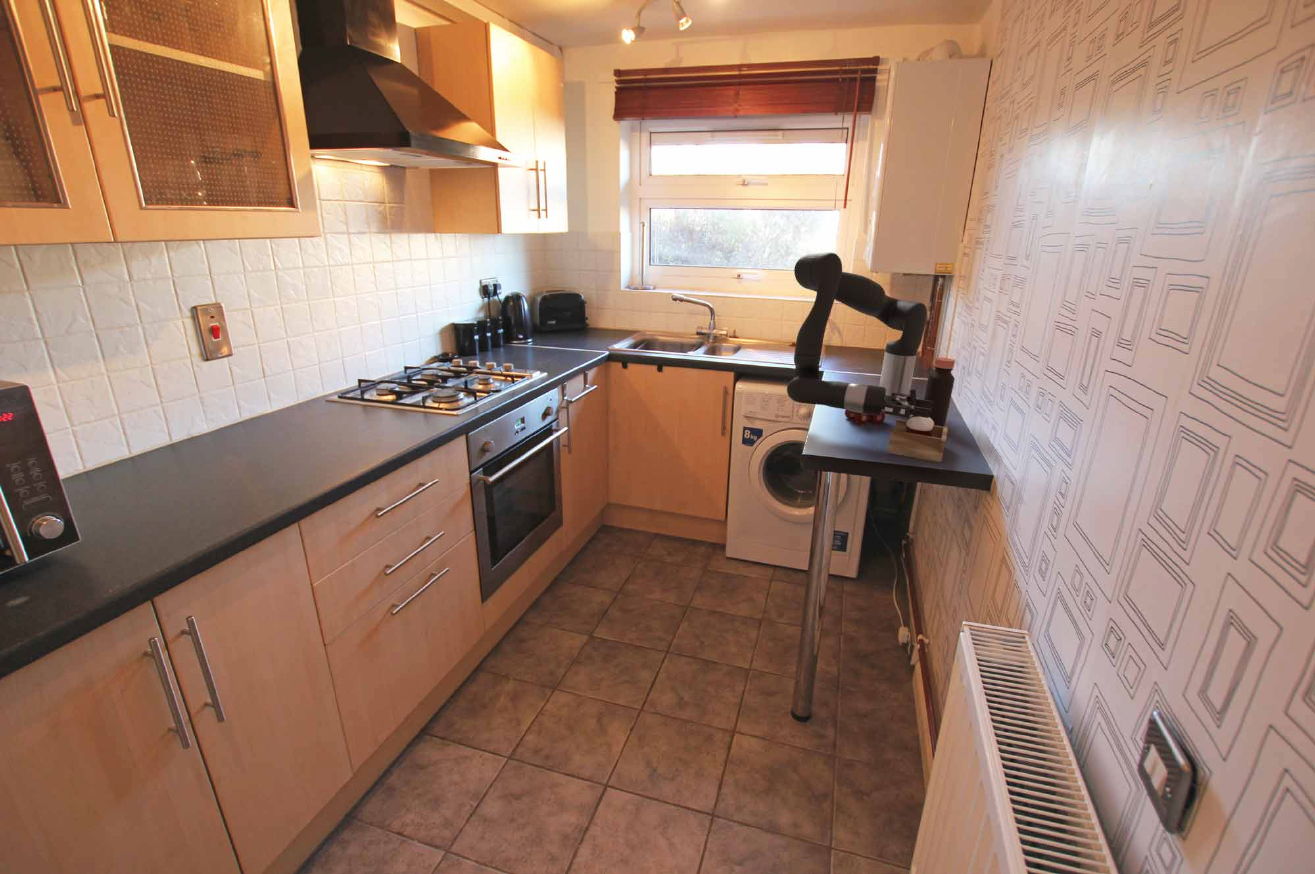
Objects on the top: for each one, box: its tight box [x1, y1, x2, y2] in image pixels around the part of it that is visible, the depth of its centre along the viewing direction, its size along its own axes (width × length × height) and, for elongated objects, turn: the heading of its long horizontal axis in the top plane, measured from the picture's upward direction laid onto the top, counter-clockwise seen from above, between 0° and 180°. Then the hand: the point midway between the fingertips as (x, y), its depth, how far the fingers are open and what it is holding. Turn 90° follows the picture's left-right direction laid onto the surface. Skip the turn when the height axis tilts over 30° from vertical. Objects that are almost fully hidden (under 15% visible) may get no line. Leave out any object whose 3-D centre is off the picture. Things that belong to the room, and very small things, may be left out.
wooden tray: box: [886, 418, 949, 463], centre depth 156 cm, size 14×12×6 cm
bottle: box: [923, 357, 956, 427], centre depth 172 cm, size 7×7×20 cm
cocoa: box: [906, 388, 934, 437], centre depth 154 cm, size 10×6×12 cm, turn 176°
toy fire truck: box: [844, 409, 886, 426], centre depth 177 cm, size 7×12×10 cm, turn 106°
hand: (931, 409), depth 152 cm, fingers open, 8 cm apart
